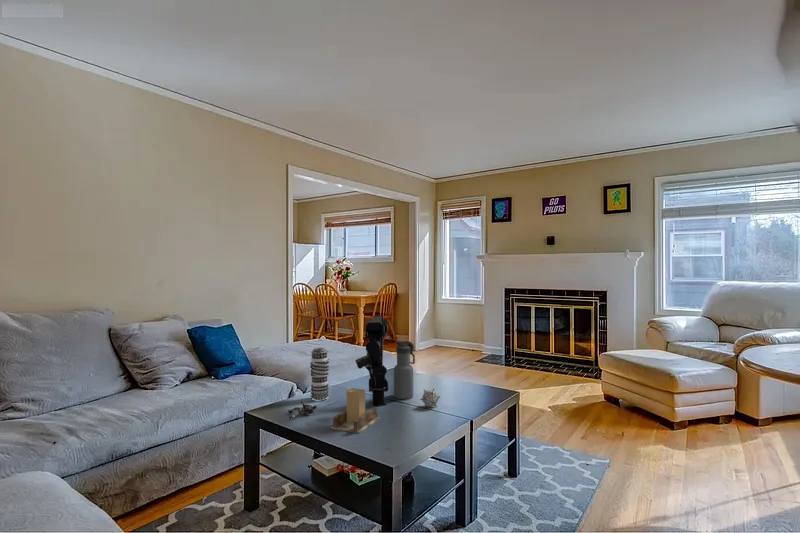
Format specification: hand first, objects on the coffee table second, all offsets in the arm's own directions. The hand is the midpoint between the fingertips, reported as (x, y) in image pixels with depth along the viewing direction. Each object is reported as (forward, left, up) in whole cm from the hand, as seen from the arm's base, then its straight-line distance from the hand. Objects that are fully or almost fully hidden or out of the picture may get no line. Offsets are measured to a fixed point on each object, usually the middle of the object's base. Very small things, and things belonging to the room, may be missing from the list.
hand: (375, 385), depth 191 cm
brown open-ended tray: (+8, -10, -13) cm, 18 cm away
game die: (-3, +27, -13) cm, 30 cm away
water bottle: (-22, +20, -13) cm, 33 cm away
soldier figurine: (-8, -32, -14) cm, 35 cm away
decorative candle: (-31, -21, -13) cm, 40 cm away
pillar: (+8, -10, -12) cm, 18 cm away
